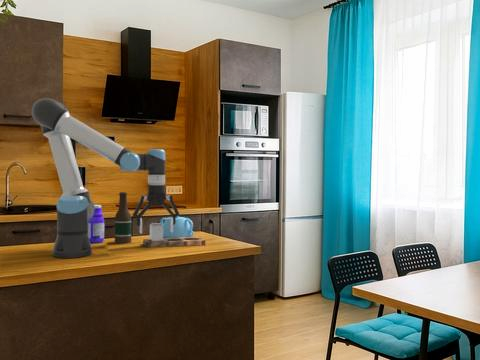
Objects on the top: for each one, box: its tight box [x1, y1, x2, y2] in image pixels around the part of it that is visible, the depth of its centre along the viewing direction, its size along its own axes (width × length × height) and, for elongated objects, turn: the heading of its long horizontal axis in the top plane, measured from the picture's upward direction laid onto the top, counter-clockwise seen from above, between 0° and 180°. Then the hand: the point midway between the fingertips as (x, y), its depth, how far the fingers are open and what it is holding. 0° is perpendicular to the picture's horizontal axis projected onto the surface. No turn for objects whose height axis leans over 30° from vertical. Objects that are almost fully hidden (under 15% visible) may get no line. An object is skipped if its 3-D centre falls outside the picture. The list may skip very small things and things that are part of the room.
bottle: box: [88, 204, 105, 244], centre depth 226 cm, size 7×6×17 cm
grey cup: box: [149, 222, 164, 242], centre depth 213 cm, size 5×5×10 cm
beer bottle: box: [114, 191, 132, 245], centre depth 219 cm, size 8×8×24 cm
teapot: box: [159, 215, 195, 239], centre depth 238 cm, size 20×20×13 cm
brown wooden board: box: [142, 236, 206, 249], centre depth 215 cm, size 26×10×3 cm, turn 110°
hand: (156, 232), depth 213 cm, fingers open, 13 cm apart
